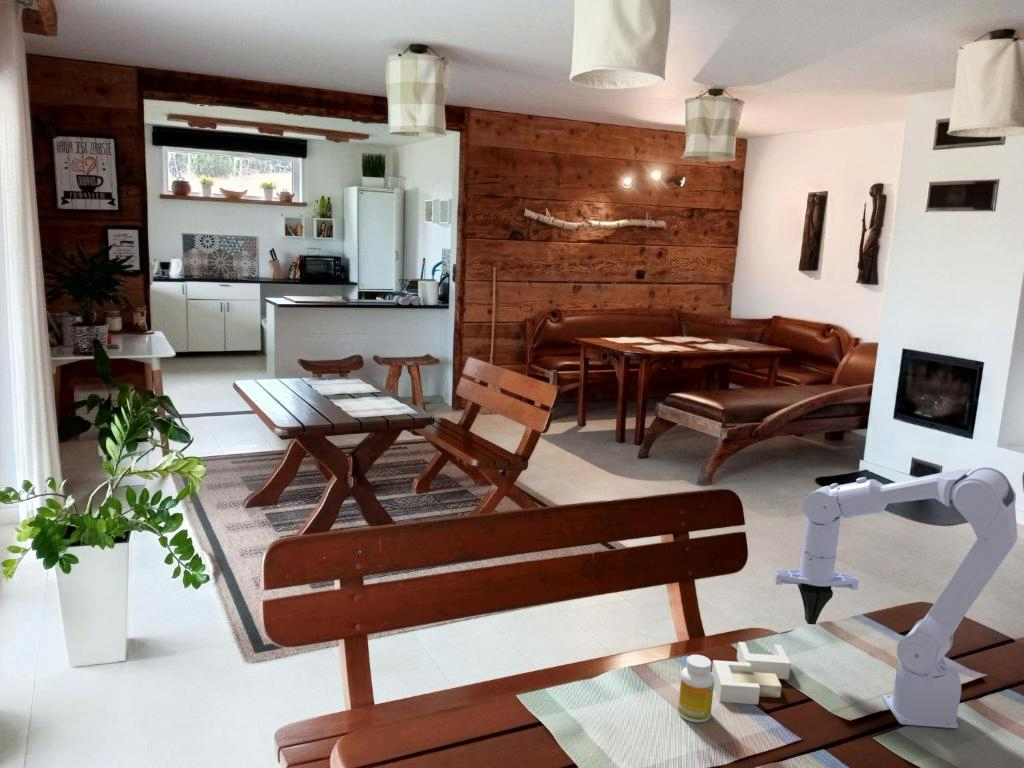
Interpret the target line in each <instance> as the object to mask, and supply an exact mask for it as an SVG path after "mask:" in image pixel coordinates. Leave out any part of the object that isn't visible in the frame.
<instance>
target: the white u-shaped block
mask: <svg viewBox="0 0 1024 768" xmlns="http://www.w3.org/2000/svg"><path fill="white" fill-rule="evenodd" d="M772 652H773V654H765V653H764V654H762V653H750V651H749V648H748V646H747V643H746V642H745V641H738V643H737V650H736V660H737V662H746V663H750V665H751V672H758V673H772V674H776V676H777V678H778V680H779V679H780V680H789V678H790V670H791V662H790V659H789V658H788V656H787V654H786V652H785V650H784V648H783V645H781V644H775V643H774V646H773V651H772Z"/></svg>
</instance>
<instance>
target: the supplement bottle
mask: <svg viewBox="0 0 1024 768" xmlns="http://www.w3.org/2000/svg"><path fill="white" fill-rule="evenodd" d="M680 673H681V674H680V682H679V694H678V703H677V712H678V714H679V716H680V717H682V718H683V719H684V720H685V721H686V720H687V721H688V722H693V723H704V722H705V723H706V722H707V721H708V720H709V719H710V718H711V716H712V706H713V695H714V689H715V686H714V676H713V674H712V661H711V660H710V658H708V657H706V656H704V655H701V654H691V655H689V656H687V658H686V663H685V667H684V668H683V669H682V670H681V672H680Z"/></svg>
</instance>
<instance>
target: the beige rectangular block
mask: <svg viewBox="0 0 1024 768" xmlns="http://www.w3.org/2000/svg"><path fill="white" fill-rule="evenodd" d="M731 673H732V676H733V678H734V681H735V682H743V683H757V684H759V686H760V693H759V697H766V698H767V697H768V698H778V697H779V699H780V698H781V695H782V684H781V682H780V680H779V679H778V678H777V676H776V674H772V673H758V672H744V671H731Z"/></svg>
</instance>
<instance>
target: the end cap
mask: <svg viewBox="0 0 1024 768" xmlns="http://www.w3.org/2000/svg"><path fill="white" fill-rule="evenodd" d="M731 671H744V672H751V665H750V663H746V662H738V661H731V660H730V661H729V660H716V659H713V660H712V664H711V673H712V674H713V676H714V689H715V691H716V694H717V698H718V701H719V702H720V703H731V704H732V703H733V704H734V703H735V704H747V705H759V700H760V696H759V693H760V686H759V684H757V683H743V682H735V681H734V678H733V676H732V673H731Z"/></svg>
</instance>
